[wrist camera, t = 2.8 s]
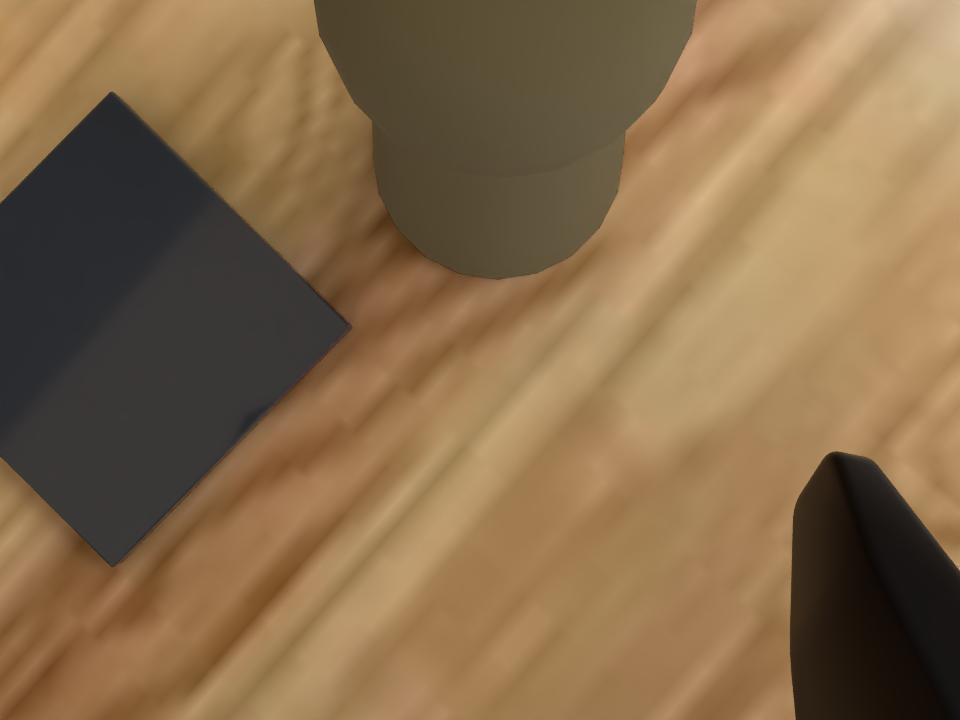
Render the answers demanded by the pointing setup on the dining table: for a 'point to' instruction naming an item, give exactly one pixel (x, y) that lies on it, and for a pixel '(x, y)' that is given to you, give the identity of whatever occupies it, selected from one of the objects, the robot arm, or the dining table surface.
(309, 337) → the slate coaster
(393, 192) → the brown game pawn
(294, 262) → the dining table surface
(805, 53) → the dining table surface
